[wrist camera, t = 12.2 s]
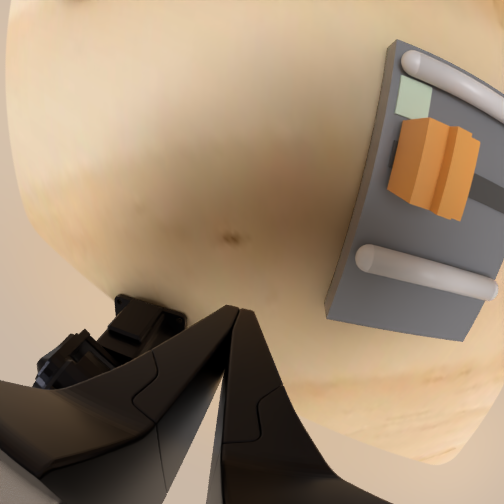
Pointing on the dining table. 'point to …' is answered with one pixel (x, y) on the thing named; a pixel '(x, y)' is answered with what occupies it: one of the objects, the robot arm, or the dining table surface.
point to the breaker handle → (434, 166)
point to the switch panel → (424, 211)
